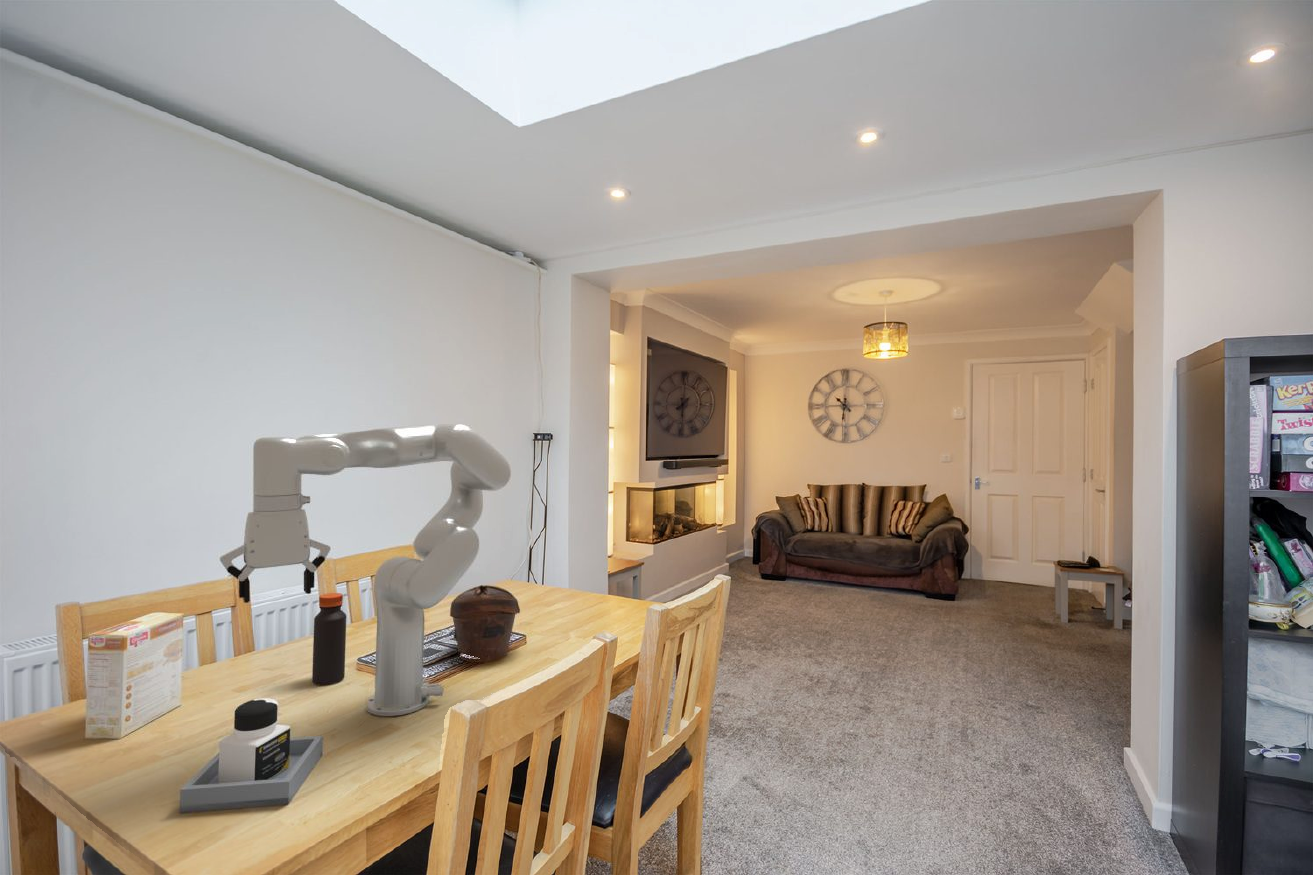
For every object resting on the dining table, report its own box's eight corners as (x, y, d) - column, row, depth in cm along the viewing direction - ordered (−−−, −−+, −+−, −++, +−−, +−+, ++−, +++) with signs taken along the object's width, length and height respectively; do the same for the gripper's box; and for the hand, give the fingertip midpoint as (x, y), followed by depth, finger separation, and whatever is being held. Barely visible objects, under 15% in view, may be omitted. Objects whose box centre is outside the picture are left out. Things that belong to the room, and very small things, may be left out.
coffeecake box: (148, 704, 127) (152, 611, 128) (182, 705, 127) (186, 612, 128) (81, 738, 112) (86, 633, 113) (120, 739, 112) (124, 634, 113)
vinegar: (304, 683, 140) (307, 597, 140) (328, 673, 146) (331, 590, 147) (328, 687, 138) (331, 600, 138) (351, 676, 145) (353, 593, 145)
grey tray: (322, 755, 108) (323, 735, 109) (288, 803, 94) (289, 781, 94) (229, 761, 106) (230, 741, 106) (179, 812, 91) (180, 789, 91)
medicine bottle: (254, 790, 95) (257, 714, 96) (216, 784, 97) (219, 709, 97) (290, 767, 102) (292, 696, 103) (254, 762, 104) (256, 692, 104)
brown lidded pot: (485, 637, 176) (486, 576, 176) (533, 652, 164) (534, 587, 164) (431, 655, 161) (433, 588, 161) (480, 673, 150) (482, 601, 150)
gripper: (326, 499, 119) (325, 585, 120) (218, 505, 109) (218, 600, 109) (334, 502, 114) (334, 593, 114) (221, 509, 103) (221, 609, 103)
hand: (277, 596), depth 111 cm, fingers open, 9 cm apart
